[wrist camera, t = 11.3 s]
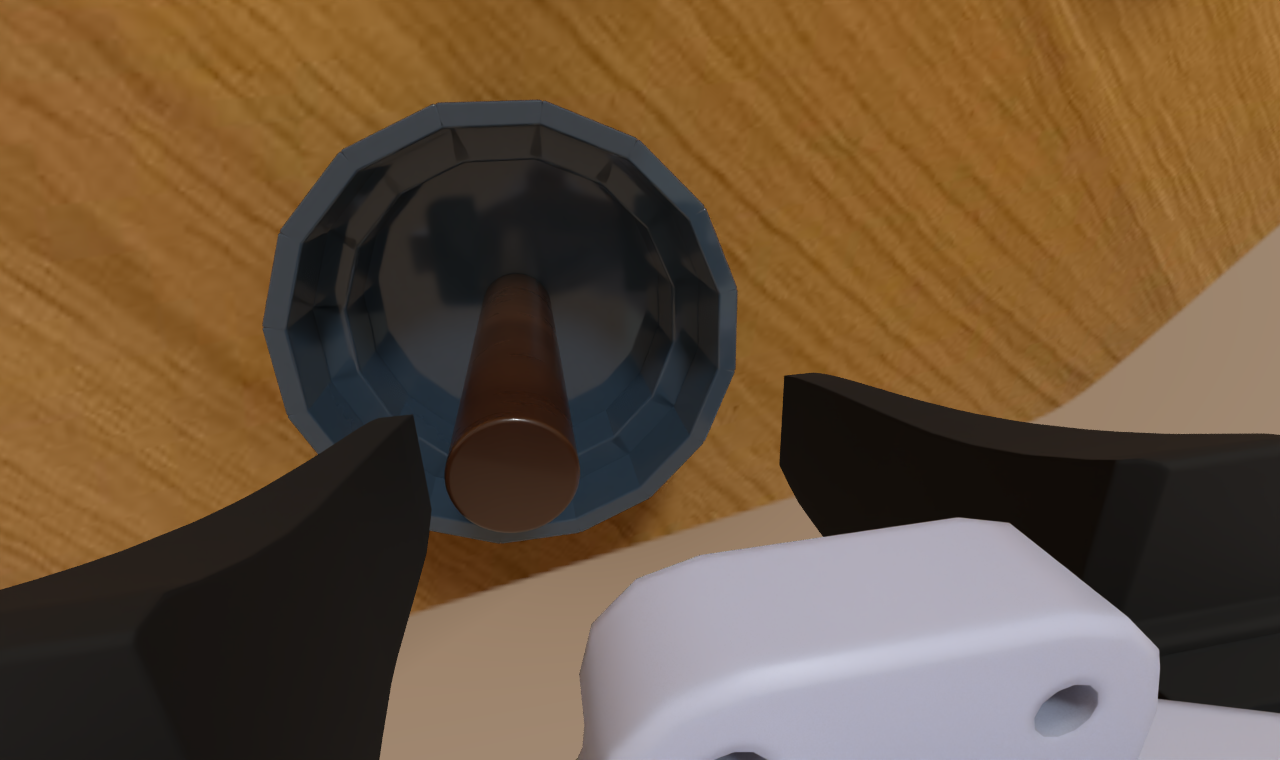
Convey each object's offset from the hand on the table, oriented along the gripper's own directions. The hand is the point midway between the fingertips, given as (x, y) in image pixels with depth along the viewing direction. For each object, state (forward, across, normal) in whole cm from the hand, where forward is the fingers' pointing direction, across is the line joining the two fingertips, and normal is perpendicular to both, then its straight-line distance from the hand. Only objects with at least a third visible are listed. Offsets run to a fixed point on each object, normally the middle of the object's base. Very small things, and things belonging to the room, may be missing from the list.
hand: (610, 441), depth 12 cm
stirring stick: (+8, +2, -1) cm, 8 cm away
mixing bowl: (+8, +2, -1) cm, 8 cm away
